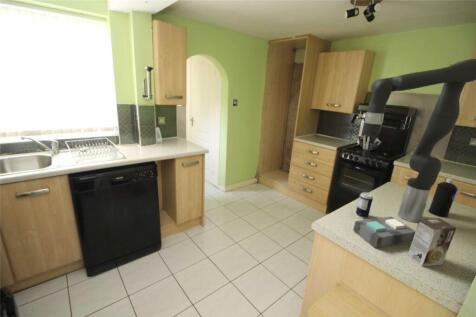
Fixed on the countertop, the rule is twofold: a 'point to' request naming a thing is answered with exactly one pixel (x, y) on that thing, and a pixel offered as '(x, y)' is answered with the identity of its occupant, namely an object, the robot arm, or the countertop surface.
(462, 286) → the countertop surface
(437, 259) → the coffee box
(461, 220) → the countertop surface
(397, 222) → the cream key
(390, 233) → the key console
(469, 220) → the countertop surface
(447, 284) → the countertop surface
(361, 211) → the beverage can
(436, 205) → the aerosol can
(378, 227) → the teal key
